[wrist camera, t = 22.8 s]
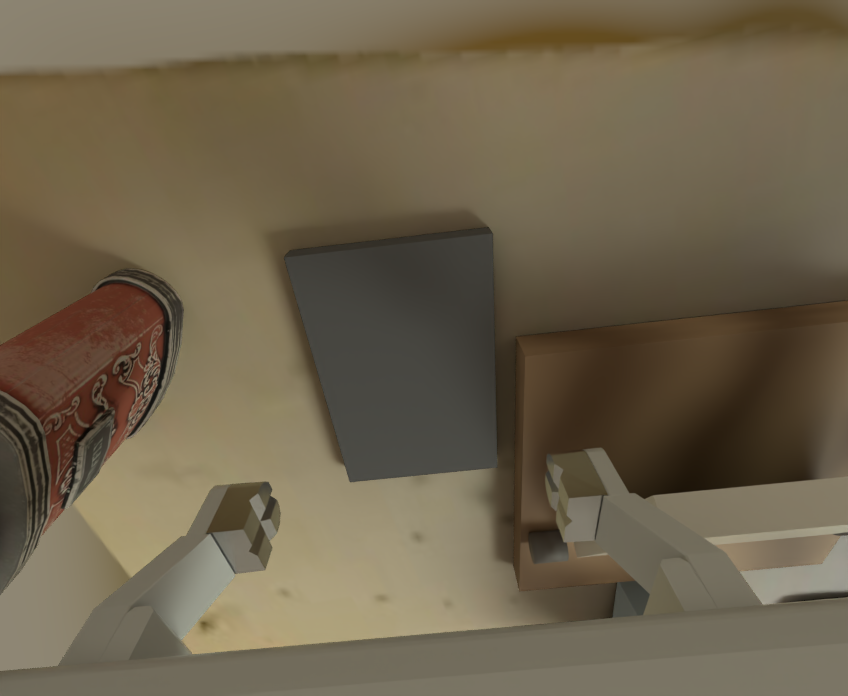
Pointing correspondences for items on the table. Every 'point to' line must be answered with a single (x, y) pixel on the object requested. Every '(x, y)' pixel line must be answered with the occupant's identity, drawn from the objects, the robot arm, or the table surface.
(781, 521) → the tile
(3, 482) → the lighter
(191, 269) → the table surface
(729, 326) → the hinge board
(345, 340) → the pad
